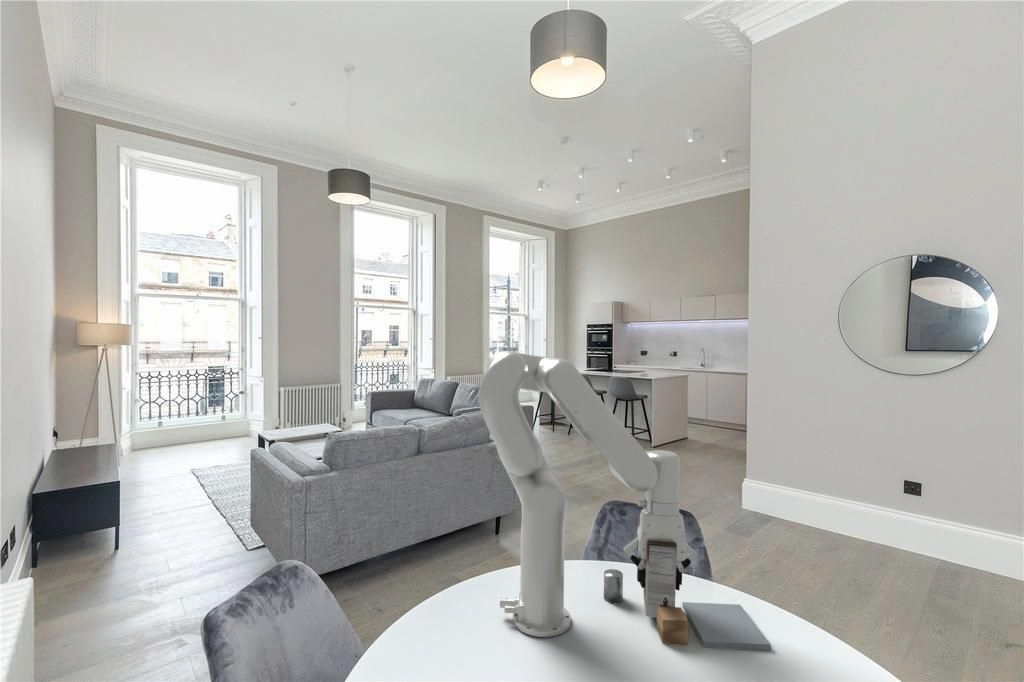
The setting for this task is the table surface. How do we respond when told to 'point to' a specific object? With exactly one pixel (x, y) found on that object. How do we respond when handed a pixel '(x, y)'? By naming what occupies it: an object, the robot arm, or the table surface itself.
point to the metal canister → (613, 586)
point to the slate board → (725, 626)
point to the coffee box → (660, 576)
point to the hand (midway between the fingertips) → (659, 585)
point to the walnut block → (672, 625)
